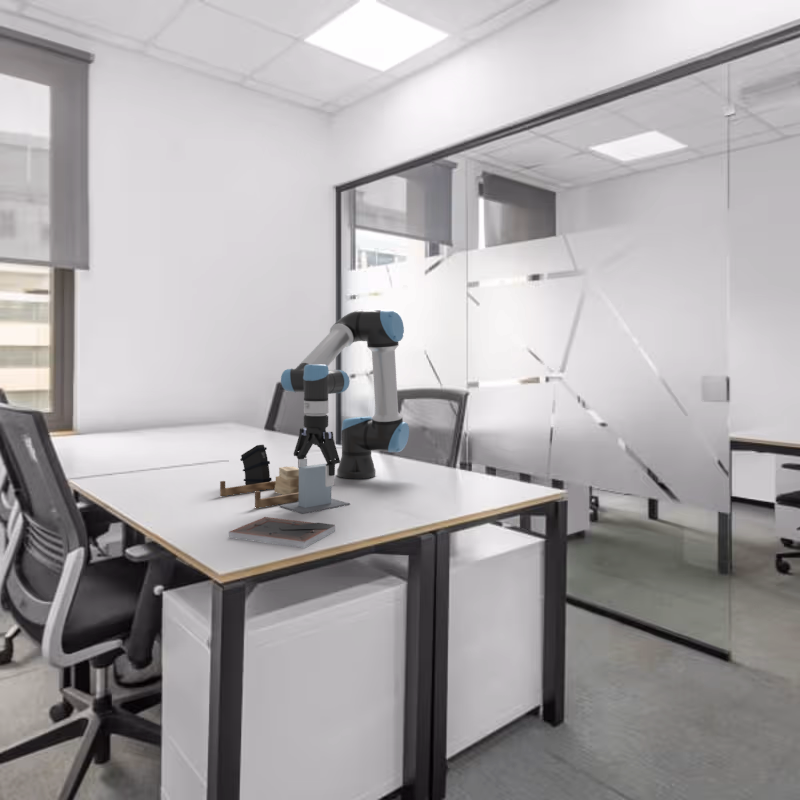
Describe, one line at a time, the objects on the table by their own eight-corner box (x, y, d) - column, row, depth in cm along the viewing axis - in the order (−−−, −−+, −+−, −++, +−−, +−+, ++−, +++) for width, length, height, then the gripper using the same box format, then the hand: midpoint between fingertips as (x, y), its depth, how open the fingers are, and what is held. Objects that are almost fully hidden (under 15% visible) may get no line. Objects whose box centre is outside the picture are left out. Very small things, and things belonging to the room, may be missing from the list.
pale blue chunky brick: (324, 501, 197) (324, 463, 196) (331, 502, 194) (331, 465, 193) (298, 505, 190) (298, 467, 189) (305, 507, 187) (305, 468, 186)
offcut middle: (290, 483, 214) (290, 474, 214) (305, 487, 207) (305, 478, 207) (275, 485, 210) (275, 476, 210) (289, 489, 203) (289, 480, 203)
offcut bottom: (289, 491, 214) (289, 482, 214) (305, 496, 207) (306, 487, 207) (274, 493, 210) (274, 484, 210) (290, 498, 203) (290, 489, 203)
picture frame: (335, 533, 164) (265, 524, 171) (335, 524, 164) (265, 516, 171) (304, 551, 149) (228, 540, 156) (304, 540, 148) (228, 530, 156)
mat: (326, 498, 203) (326, 497, 203) (349, 504, 194) (349, 503, 194) (279, 506, 190) (279, 505, 190) (303, 513, 181) (303, 512, 181)
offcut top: (293, 475, 213) (293, 466, 212) (301, 478, 207) (301, 469, 206) (279, 476, 210) (279, 467, 210) (286, 479, 204) (286, 470, 204)
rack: (286, 486, 221) (287, 466, 221) (325, 496, 205) (325, 475, 205) (220, 496, 203) (220, 475, 202) (257, 508, 187) (257, 485, 186)
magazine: (268, 486, 212) (256, 445, 215) (247, 497, 220) (236, 457, 223) (277, 484, 215) (265, 444, 218) (256, 495, 223) (245, 456, 226)
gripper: (282, 412, 196) (282, 478, 198) (332, 418, 179) (331, 490, 180) (301, 410, 202) (301, 475, 203) (351, 416, 184) (351, 487, 186)
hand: (316, 482), depth 192 cm, fingers open, 13 cm apart
